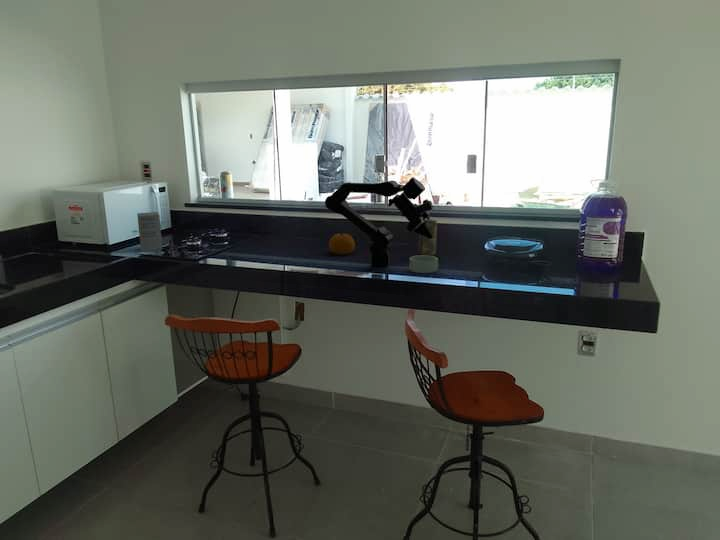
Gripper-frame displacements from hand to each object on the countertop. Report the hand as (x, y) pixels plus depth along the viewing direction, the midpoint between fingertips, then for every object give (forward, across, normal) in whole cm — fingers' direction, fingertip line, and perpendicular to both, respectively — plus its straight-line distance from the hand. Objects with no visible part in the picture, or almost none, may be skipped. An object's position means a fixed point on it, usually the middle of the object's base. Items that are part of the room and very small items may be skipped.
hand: (433, 237), depth 215 cm
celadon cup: (+7, -1, +12) cm, 14 cm away
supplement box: (-83, +5, +106) cm, 135 cm away
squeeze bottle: (+5, +25, +14) cm, 29 cm away
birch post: (+4, 0, +6) cm, 7 cm away
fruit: (-21, +19, +41) cm, 50 cm away
